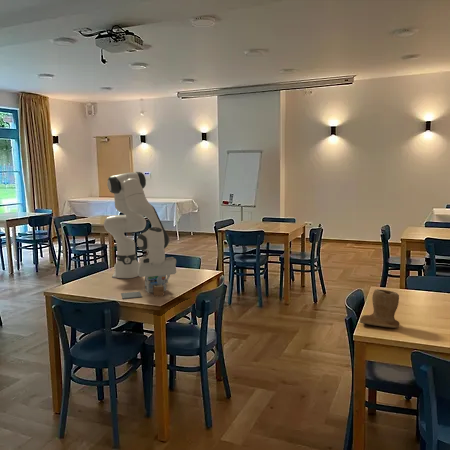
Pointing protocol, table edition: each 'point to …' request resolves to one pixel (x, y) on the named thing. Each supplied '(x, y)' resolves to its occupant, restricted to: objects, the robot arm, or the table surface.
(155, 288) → the lettered cube
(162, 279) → the light bulb box
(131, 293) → the slate mat
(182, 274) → the table surface
